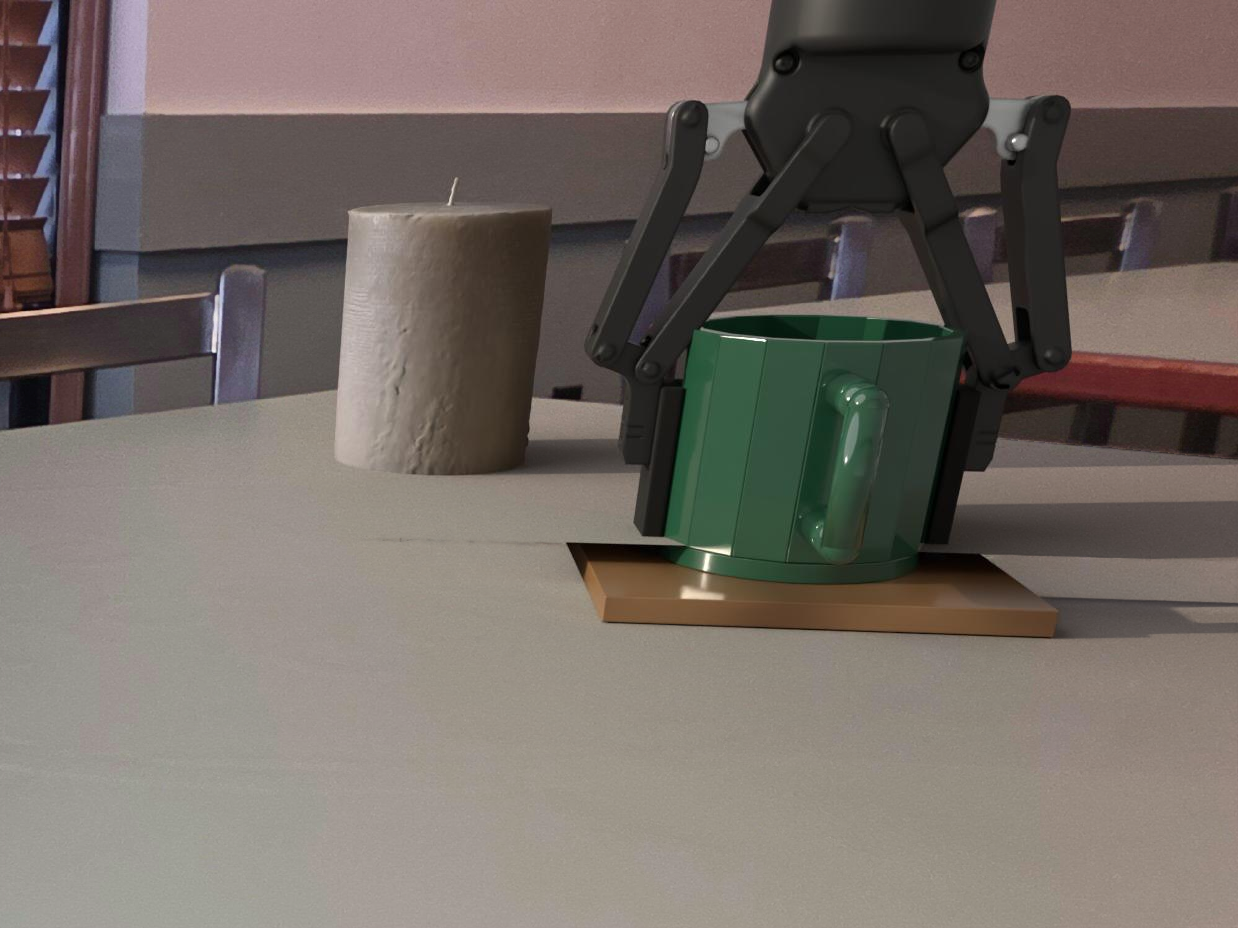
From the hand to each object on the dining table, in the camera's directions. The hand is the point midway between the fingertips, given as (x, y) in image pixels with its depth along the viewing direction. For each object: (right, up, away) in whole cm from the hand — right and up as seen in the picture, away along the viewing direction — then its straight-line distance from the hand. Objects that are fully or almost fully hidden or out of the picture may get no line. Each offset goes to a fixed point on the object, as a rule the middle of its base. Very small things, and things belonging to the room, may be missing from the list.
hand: (782, 548), depth 72 cm
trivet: (0, -1, +1) cm, 1 cm away
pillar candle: (-11, +6, +17) cm, 21 cm away
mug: (0, -1, -2) cm, 2 cm away
